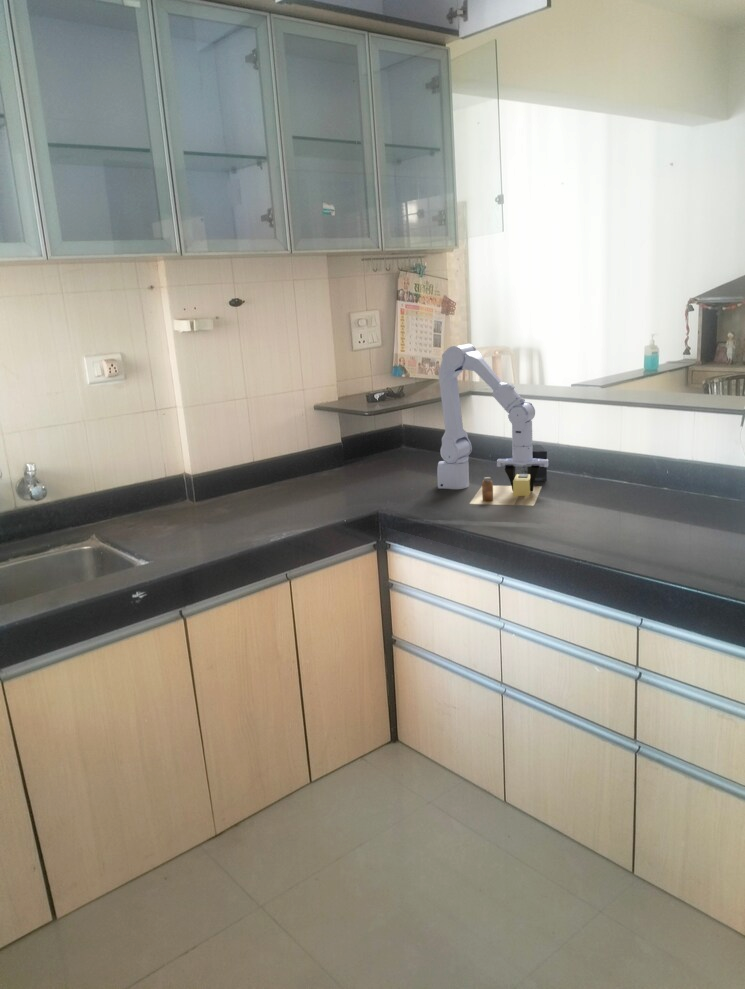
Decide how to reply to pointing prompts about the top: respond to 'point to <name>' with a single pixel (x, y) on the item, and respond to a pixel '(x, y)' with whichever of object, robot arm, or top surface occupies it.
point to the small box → (537, 453)
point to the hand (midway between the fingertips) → (522, 490)
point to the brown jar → (487, 489)
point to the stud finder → (521, 485)
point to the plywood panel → (507, 497)
